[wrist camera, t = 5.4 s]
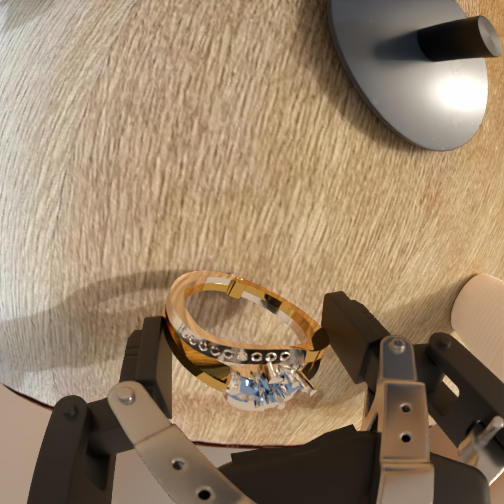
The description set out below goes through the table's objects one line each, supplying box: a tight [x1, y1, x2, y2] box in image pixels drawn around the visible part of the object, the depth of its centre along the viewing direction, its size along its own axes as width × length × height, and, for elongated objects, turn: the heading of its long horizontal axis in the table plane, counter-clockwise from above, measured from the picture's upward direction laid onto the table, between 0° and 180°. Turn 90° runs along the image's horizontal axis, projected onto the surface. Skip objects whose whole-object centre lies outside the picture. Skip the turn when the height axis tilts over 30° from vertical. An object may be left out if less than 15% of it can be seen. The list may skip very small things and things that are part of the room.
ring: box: [162, 270, 330, 411], centre depth 12 cm, size 7×3×8 cm, turn 64°
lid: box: [327, 0, 501, 151], centre depth 9 cm, size 14×14×6 cm
